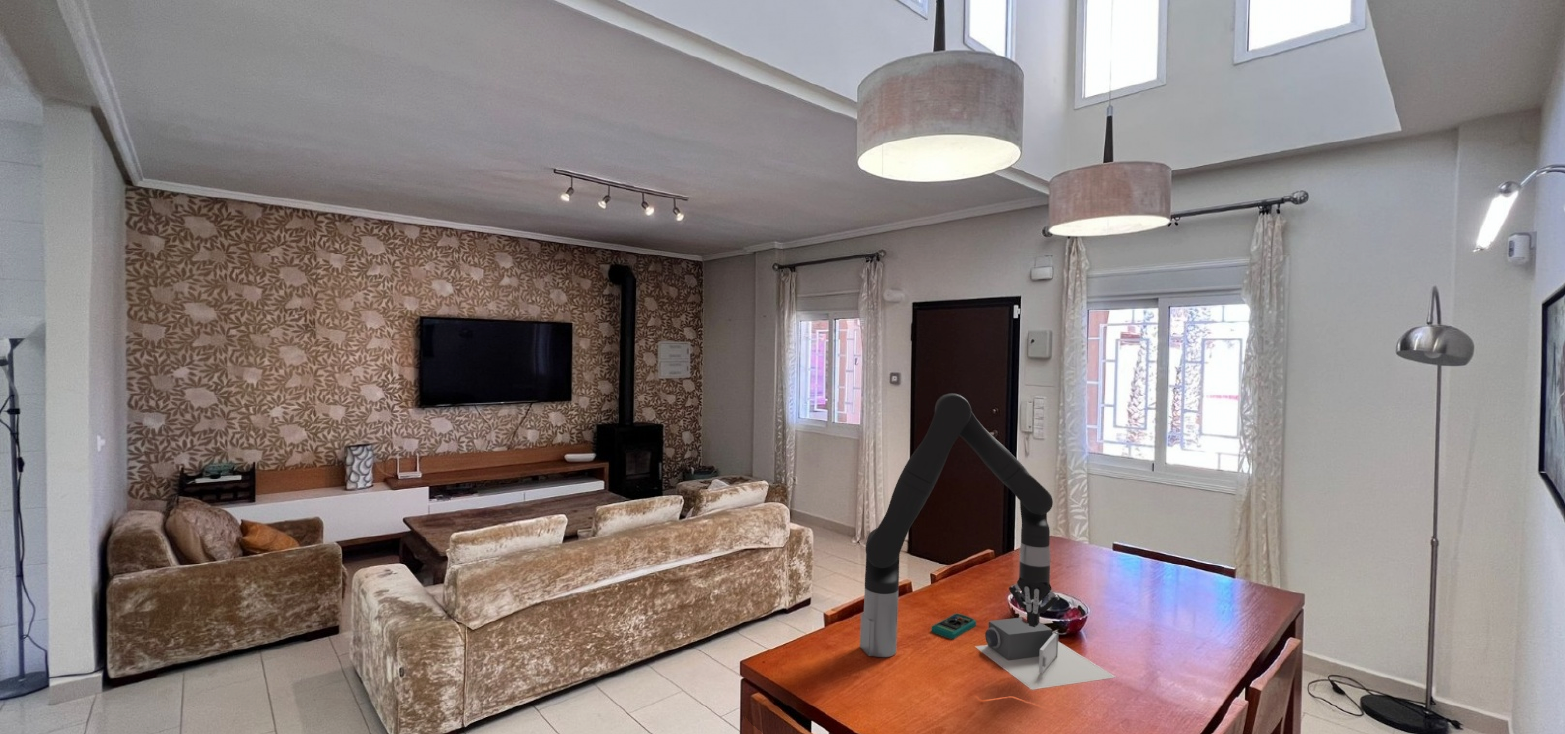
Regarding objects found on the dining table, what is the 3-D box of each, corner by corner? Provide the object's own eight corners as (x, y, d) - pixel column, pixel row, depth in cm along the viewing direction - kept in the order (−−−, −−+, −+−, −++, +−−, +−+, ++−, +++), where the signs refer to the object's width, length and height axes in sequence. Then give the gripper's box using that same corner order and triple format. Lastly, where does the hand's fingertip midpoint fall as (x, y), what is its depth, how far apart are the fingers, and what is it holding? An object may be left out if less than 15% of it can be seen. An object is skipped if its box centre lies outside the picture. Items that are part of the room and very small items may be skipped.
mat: (1031, 691, 156) (1031, 689, 156) (974, 647, 179) (974, 646, 179) (1116, 678, 164) (1116, 677, 164) (1051, 638, 187) (1051, 637, 187)
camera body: (1003, 661, 171) (1004, 632, 171) (983, 646, 179) (984, 618, 179) (1051, 654, 175) (1052, 626, 175) (1029, 640, 184) (1030, 613, 184)
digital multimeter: (977, 628, 194) (977, 618, 194) (952, 642, 183) (953, 632, 183) (955, 620, 199) (955, 611, 199) (930, 634, 188) (930, 624, 188)
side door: (1053, 653, 176) (1054, 630, 175) (1059, 655, 175) (1060, 632, 175) (1037, 673, 164) (1038, 648, 164) (1044, 675, 163) (1045, 650, 163)
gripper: (1004, 558, 170) (1003, 623, 170) (1057, 569, 162) (1055, 637, 162) (1014, 552, 176) (1012, 615, 176) (1064, 562, 167) (1063, 628, 168)
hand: (1033, 625), depth 169 cm, fingers closed
